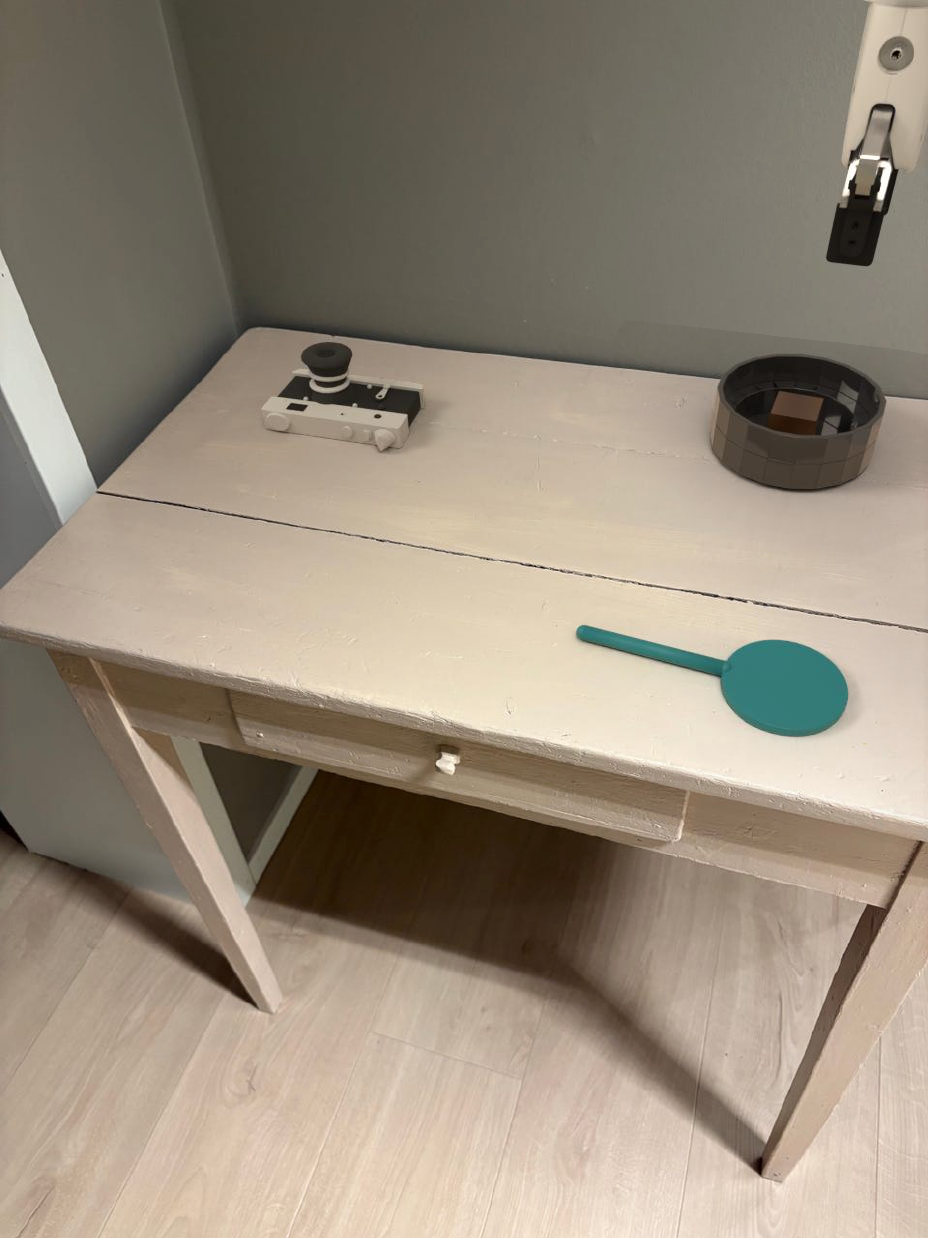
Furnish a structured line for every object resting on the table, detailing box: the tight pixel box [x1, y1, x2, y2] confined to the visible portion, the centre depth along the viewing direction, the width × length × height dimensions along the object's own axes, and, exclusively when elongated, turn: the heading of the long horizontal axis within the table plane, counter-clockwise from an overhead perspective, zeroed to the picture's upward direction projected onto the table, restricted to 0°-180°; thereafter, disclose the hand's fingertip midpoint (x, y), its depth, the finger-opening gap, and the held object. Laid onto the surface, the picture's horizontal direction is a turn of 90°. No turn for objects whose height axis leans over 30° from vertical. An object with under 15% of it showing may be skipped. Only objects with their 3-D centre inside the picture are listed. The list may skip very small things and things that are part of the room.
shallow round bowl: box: [709, 353, 887, 490], centre depth 92 cm, size 15×15×6 cm
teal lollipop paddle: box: [575, 624, 849, 737], centre depth 73 cm, size 21×9×1 cm, turn 67°
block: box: [767, 391, 824, 435], centre depth 92 cm, size 4×4×4 cm
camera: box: [260, 341, 426, 452], centre depth 99 cm, size 15×7×10 cm
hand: (857, 236), depth 72 cm, fingers open, 9 cm apart
